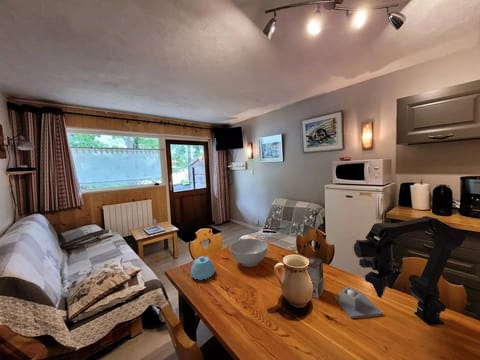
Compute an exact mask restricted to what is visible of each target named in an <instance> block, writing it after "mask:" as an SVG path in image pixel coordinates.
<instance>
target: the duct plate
mask: <svg viewBox="0 0 480 360" xmlns="http://www.w3.org/2000/svg"><path fill="white" fill-rule="evenodd" d="M347 294H348V295H350V296H352V297H354V296H355V291H353V290H350V289H349V290H347ZM334 299H335V301H336V303H338V304H339V305H340V307H341V308H342V309H343V311H344V312H345V313H346V314H347V316H348V317H349V318H350V319H351V320H352V319H360V318H371V317H380V316H384V313H383V311H381V310H380V308H378V307H377V306H376V305H375V304H374V303H373V302H372V301H371V300H370V299H369V298H368V297H367V296H366V295H365V294H363V304H362V305H361V306H360V307H359V308H358V309H357V310H356V311H355V310H353V309H351V308H350V307H348V306H346V305H344V304H342V303H341V302H340V296H339V295H335V296H334Z"/></svg>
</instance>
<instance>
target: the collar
mask: <svg viewBox="0 0 480 360" xmlns="http://www.w3.org/2000/svg"><path fill="white" fill-rule="evenodd" d="M349 289H350V290H353V291H355V296H354V297H352V296H350V295H348V294H347V290H349ZM338 293H339V295H338V296H340V302H341V303H342V304H344V305H346V306H348V307H350V308H351V309H353V310H355V311H356V310H357V309H358V308H359V307H360V306H361V305H362V304H363V295H364V293H363V292H361V291H359V290H357V289H355V288H353V287H351V286H348V285H346V286H345V287H344V288H342V289H341V290H339V292H338Z"/></svg>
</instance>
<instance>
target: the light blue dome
mask: <svg viewBox="0 0 480 360" xmlns="http://www.w3.org/2000/svg"><path fill="white" fill-rule="evenodd" d="M215 271H216V268H215V265H214V263H213V261H212V260H211V259H210V257H207V256H204V255H202V256H199V257H198V258H196V259H195V260H194V261H193V263H192V265H191V268H190V276H191V278H193V279H195V280H196V279H198V280H197V281H204V280H203V279H205V280H208V279H210V278H211V277H212V276H213V275H214V273H216V272H215ZM209 277H210V278H209ZM207 278H208V279H207Z"/></svg>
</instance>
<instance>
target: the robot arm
mask: <svg viewBox="0 0 480 360" xmlns="http://www.w3.org/2000/svg"><path fill="white" fill-rule="evenodd" d="M426 230H430V231H432V235H431V236H432V241H433V247H432V250H431V251H430V254H429V256H428V257H427V258H428V259H427V261H426V264H425V265H424V269H423V270H422V273H421V276H419V277H418V278H415V277H412V278H411V281H410V283H409V285H408V287H409V292H410V294H411V295H412V296H413V297H414V299H416V300H417V306H416V311H414V312H413V314H415V316H416V317H417V318H419V319H420V320H422V321H423V322H424V323H425V324H427V325H428V326H435V325H437V326H438V325H442V324H443V325H444V324H445V322H444V320H442V319H441V313H442V312H445V311H446V308H447V305H445V304H444V303H443V302H442V301H441V300H439V298H440V295H441V293H440V291H439V286H438V284H439V281H440V279H441V276H442V274H443V272H444V269H445V267H446V265H447V263H448V260H449V258H450V256H451V253H452V252H453V251H454V250H456V249H459V248H460V247H461V246H462V244H463V243H464V241H465V239H466V234H465V233H464V231H463V230H462V229H460V228H458V227H454V226H451V225H449V224H446V223H445V222H442V221H441V220H439V219H438V218H435V217H431V216H429V215H428V216H427V215H424V216H422V217H418V218H413V219H408V220H404V221H399V222H394V223H393V222H377V223H374V224H373V225H372V226H371V228H370V230H369V232H368V233H367V234H366V235H365V239H356V240H355V243H354V245H353V247H352V248H353V252H354V255H355V256H356V257H357V258H359V263H358V264H359V266H360V267H361V268H363V269H366V268H367V269H371V270H373V271H369V272H367V274H365V275H364V281H365V282H367V283H369V284H371V285H372V286H373V288H374V291H375V293H376V295H377V297H378V298H379V299H382V297H383V296H384V293H385V291H386V288H387V286H388V288H389V289H394V285H396V282H397V281H398V279H399V278H400V276H401V274H402V273H403V271H404V267H403V266H404V265H402V264H401V263H399V262H396V261H395V260H396V258H393V247H395V246H399V244H398V242H396V241H395V240H397V239H398V238H399V237H401V236H403V235H407V234H412V233H417V232H421V231H426ZM375 237H376V238H375ZM375 271H376V272H377V273H376V272H375Z"/></svg>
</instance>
